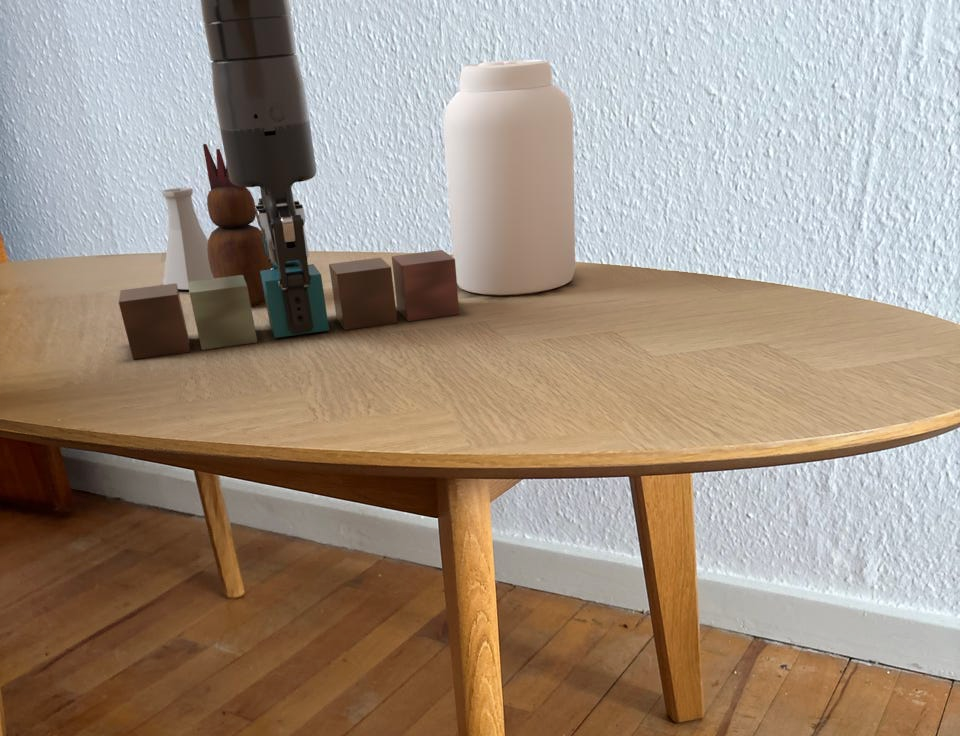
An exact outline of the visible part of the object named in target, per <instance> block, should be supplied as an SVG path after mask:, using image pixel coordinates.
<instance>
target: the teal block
mask: <svg viewBox="0 0 960 736" xmlns="http://www.w3.org/2000/svg"><path fill="white" fill-rule="evenodd" d="M308 269H309V274H310V275H311V280H310V285H309V288H307V289H308V296H309V302H310V309H311V315H312V321H313V329H312V330H311V331H309V332H303V333H296V334H294V333H291V332H290V330H289V328H288V323H287V317H286V311H285V305H284V300H283V294H282V291H281V287H279V285H278V281H279V277H278V272H277V269H271V270H263V271H260V273H261V278H262V284H263V290H264V295H265V306H266V311H267V312H266V313H267V317H268V323H269V326H270V329H271V332H272V334H273V337H274V338H275V339H278V338H286V337H293V336H294V337H295V336H300V335H307V334H314V333H322V332H328V331H329V332H330V325H329V318H328V313H327V306H326V299H325V298H326V297H325V291H324V286H323V279H322V273H320V271H319V270H318V268H317V266H316V265H315V264H314V263H312V264H311V263H310V264H308ZM285 270H286V272H294V271H300V269H299V266H294V267H286V268H285Z"/></svg>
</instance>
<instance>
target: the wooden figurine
mask: <svg viewBox="0 0 960 736" xmlns="http://www.w3.org/2000/svg"><path fill="white" fill-rule="evenodd" d="M202 147H203V154H204V159H205V165H206V172H207V177H208V183H209V189H210V190H209V191H208V193H207V197H206V206H207V213H208V215H209V219H210V221H211V222H212V224H214V225H215V226H216V228H215V229H214V230H212V231H211V232H210V235H209V238H207V240H208V248H207V251H208V260H209V265H210V269H211V272H212V275H213V278H222V277H230V276H238V275H243V276H244V279H245V282H246V284H247V288H248V293H249V299H250V304H251V307H254V306H259V305H261V304H263V303H266V301H265V295H264V290H263V284H262V278H261V273H260V271H263V270H271V268H272V266H271V264H270V263H269V261H268V257H269V256H267V255H266V253H265V249H264V246H263V239H262V233H261V229H260V227H257V226H254V225H251V224H252V223H254V222H255V219H256V212H255V206H256V202H255V198H254V196H253V194H252V192H251V191H250V190H249V188H248V187H239V186H236V185H234V184H232V183H231V181H230V179H229V174H228V169H227V163H226V162H224V158H223V155H222V151H221V149H220V148H216V151H215V152H216V163H215V161H214V158H213V156H212V154H211V152H210V148H209V146H208V145H207V143H203V144H202Z"/></svg>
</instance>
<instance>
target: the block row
mask: <svg viewBox="0 0 960 736" xmlns="http://www.w3.org/2000/svg"><path fill="white" fill-rule="evenodd" d="M391 263H392V264H391V265H392V266H391V265H389V264H388V262H386V261H385V260H384V259H383V258H382V257H375V258H365V259H360V260H359V259H357V260H350V261H342V262H335V263H329V264H328V267H329V274H330V281H331V289H332V295H333V302H334V303H333V304H334V309H335V317H336V319H337V321H338V323H339V324H340V325H341V326H342V329H344V331H349V330H355V329H363V328H371V327H377V326H378V327H379V326H384V325H391V324H397V323H398V315H397V311H398V312H399V313H400V314H401V316H402V317H404V319H405V320H406V321H407V322H413V321H420V320H427V319H429V320H430V319H435V318H442V317H450V316H457V315H460V309H459V308H460V306H459V305H460V304H459V291H458V284H457V278H456V265H455V259H454V258H453V256H451V255H450V254H448V253H447V252H446V251H444V250H443V249H438V250H431V251H422V252H414V253H406V254H397V255H392V256H391ZM188 286H189V289H188V293H189V298H190V302H191V307H192V313H193V317H194V322H195V326H196V330H197V335H198V339H199V343H200V348H201V350H202V351H206V350H214V349H219V348H226V347H233V346H235V347H236V346H241V345H248V344H255V343H256V344H257V343H258V337H257V332H256V326H255V322H254V321H255V320H254V315H253V311H252V310H253V309H252V306H251V304H250V299H249V293H248V288H247V284H246V282H245V279H244V276H243V275H238V276H230V277H222V278H214V279H206V280H198V281H190V282H188ZM118 306H119V309H120V314H121V318H122V321H123V325H124V330H125V334H126V338H127V342H128V345H129V350H130V353H131V357H132V360H140V359H148V358H155V357H163V356H169V355H176V354H182V353H190V352H191V347H190V345H191V344H190V338H189V333H188V328H187V323H186V319H185V313H184V310H183V309H184V308H183V306H182V300H181V296H180V292H179V289H178V287H177V283H174V284H167V285H163V284H160V285H151V286H144V287H135V288H127V289H120V291H119V297H118Z"/></svg>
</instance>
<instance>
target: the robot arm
mask: <svg viewBox="0 0 960 736" xmlns="http://www.w3.org/2000/svg"><path fill="white" fill-rule="evenodd" d="M200 7H201V8H200V9H201V15H202V23H203V28H204V32H205V39H206V43H207V48H208V54H209V59H210V61H211V62H210V66H211V75H212V76H211V77H212V90H213V97H214V104H215V109H216V113H217V115H216V116H217V120H218V124H219V125H218V126H219V131H220V136H221V141H222V147H223V151H224V152H223V153H224V157H225V158H224V159H225V164H226V163H227V169H228V174H229V179H230V181H231V183H232V184H234V185H236V186H239V187H246V188H256V187H258V188H259V189H260V195H261V197H260V198H258V202H257V205H256V204H255V212H256V217H255V219H256V221H257V225H258V228H259V229H260V230H261V233H262V239H263V246H264V249H265V253H266V255H267V256H269V257H268V261H269V263H270V264H271V266H272V268H271V269H277V272H278V277H279V281H278V285H279V287H281V291H282V294H283V300H284V305H285V311H286V317H287V323H288V328H289V330H290V332H291V333H294V334H296V333H303V332H309V331H311V330H312V329H313V321H312V315H311V309H310V302H309V296H308V289H307V288H309V285H310V280H311V275H310V274H309V269H308V265H309V263H308V262H309V261H308V258H309V254H310V253H309V248H308V242H307V237H306V232H305V223H306V216H305V211H304V206H303V204H301V203H300V200H294V195H293V193H294V192H293V190H292V187H293V185H294V184H295V183H302V182H306V181H309V180H311V179H313V178H314V177H315V176H316V174H317V165H316V158H315V150H314V143H313V136H312V129H311V123H310V115H309V109H308V102H307V94H306V88H305V83H304V79H303V75H302V72H301V68H300V63H299V59H298V55H297V46H296V40H295V39H296V38H295V31H294V25H293V18H292V13H291V6H290V1H289V0H200ZM294 266H299V269H300V271H294V272H286V270H285V268H286V267H294Z"/></svg>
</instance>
